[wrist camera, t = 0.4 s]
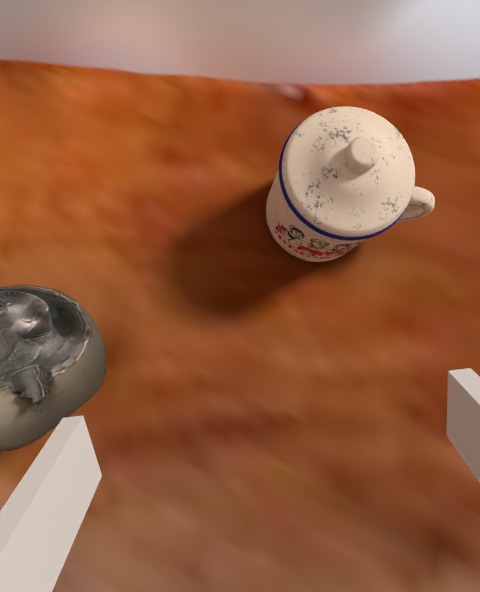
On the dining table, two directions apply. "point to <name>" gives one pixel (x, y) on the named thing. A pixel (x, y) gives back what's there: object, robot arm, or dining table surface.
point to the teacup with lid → (342, 184)
